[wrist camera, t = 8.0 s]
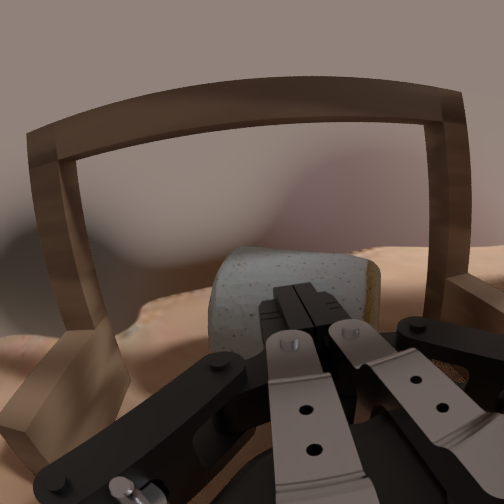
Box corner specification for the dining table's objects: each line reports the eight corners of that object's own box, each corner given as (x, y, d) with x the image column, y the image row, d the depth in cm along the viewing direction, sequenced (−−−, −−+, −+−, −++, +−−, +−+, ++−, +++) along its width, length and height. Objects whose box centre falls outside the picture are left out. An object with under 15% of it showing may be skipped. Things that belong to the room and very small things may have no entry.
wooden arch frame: (105, 380, 17) (45, 136, 13) (440, 328, 18) (442, 97, 14) (53, 494, 8) (-89, 126, 4) (527, 405, 9) (566, 73, 5)
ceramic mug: (368, 419, 12) (385, 273, 10) (217, 400, 15) (191, 271, 13) (374, 321, 22) (376, 222, 20) (275, 317, 25) (266, 225, 23)
